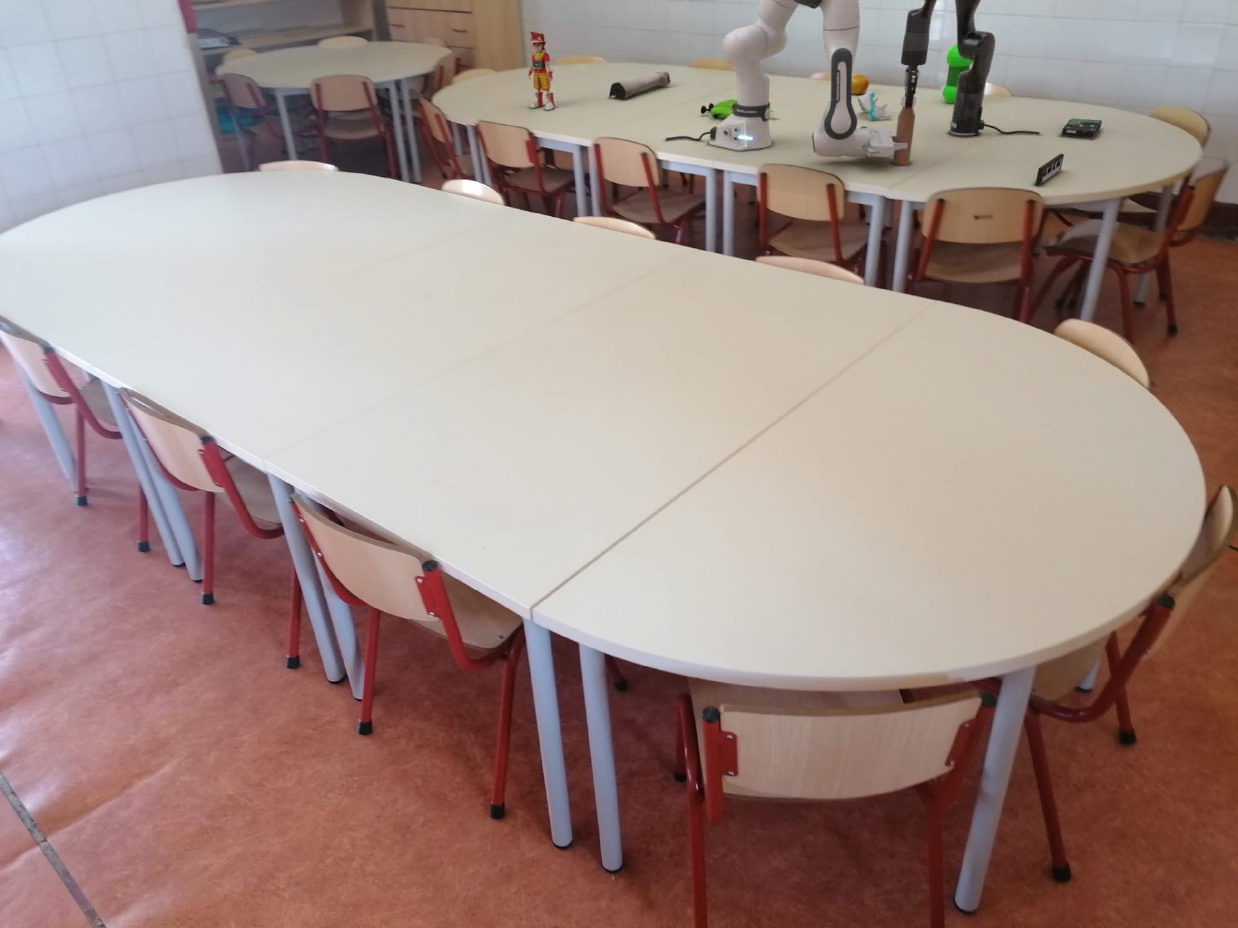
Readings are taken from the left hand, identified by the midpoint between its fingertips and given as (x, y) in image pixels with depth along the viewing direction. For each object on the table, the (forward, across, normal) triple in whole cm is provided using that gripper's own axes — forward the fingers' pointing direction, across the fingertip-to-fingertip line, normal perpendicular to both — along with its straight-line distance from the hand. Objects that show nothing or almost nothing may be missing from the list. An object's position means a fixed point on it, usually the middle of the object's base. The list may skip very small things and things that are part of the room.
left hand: (906, 142), depth 291 cm
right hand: (-1, 0, -12) cm, 12 cm away
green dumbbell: (+27, +80, +7) cm, 85 cm away
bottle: (-1, 0, +6) cm, 7 cm away
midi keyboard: (+41, -16, +7) cm, 45 cm away
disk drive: (+63, +34, +7) cm, 72 cm away
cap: (-1, 0, -14) cm, 14 cm away
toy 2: (-56, +63, +6) cm, 85 cm away
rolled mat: (-103, +106, +6) cm, 148 cm away
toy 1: (-142, +81, +6) cm, 163 cm away
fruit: (-10, +97, +6) cm, 98 cm away
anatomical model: (-6, +60, +6) cm, 61 cm away
